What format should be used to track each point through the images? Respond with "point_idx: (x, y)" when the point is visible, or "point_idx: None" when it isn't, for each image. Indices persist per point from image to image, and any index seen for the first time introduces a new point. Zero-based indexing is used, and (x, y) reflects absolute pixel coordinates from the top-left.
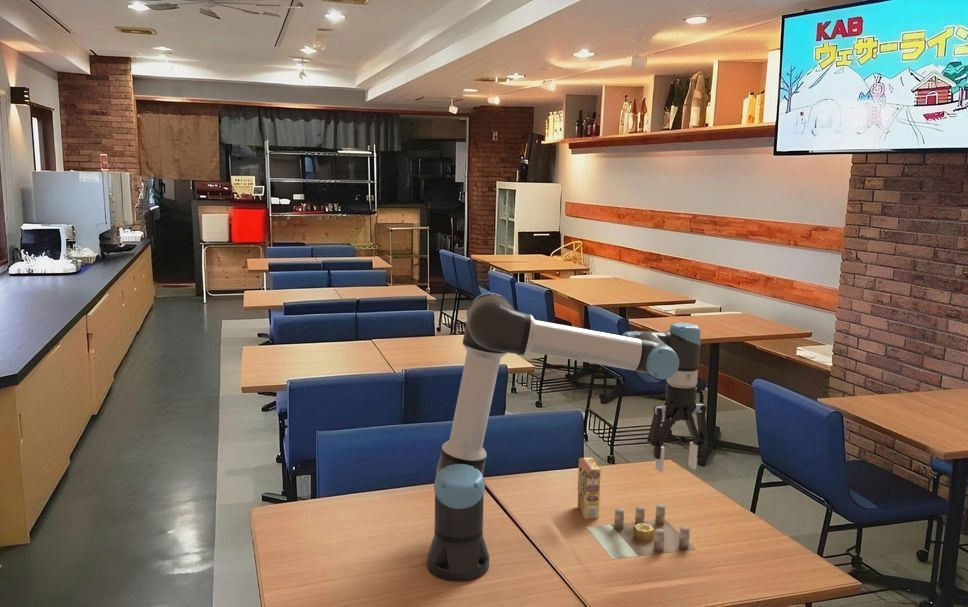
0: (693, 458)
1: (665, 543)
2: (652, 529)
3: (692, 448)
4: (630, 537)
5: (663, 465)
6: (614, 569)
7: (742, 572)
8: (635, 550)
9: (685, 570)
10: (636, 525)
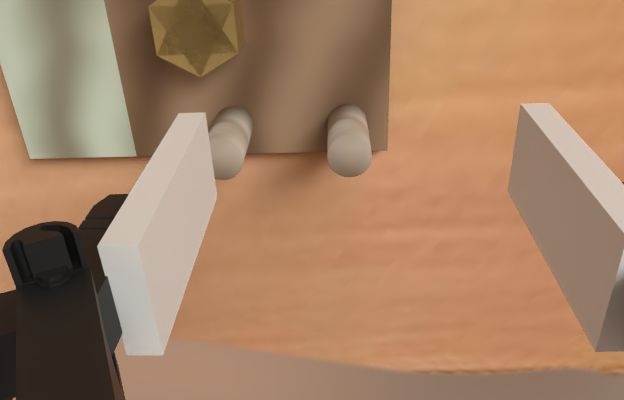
0: (541, 232)
1: (282, 85)
2: (229, 56)
3: (584, 262)
4: (143, 7)
5: (205, 229)
6: (42, 185)
7: (470, 268)
8: (136, 116)
9: (288, 229)
10: (162, 2)
